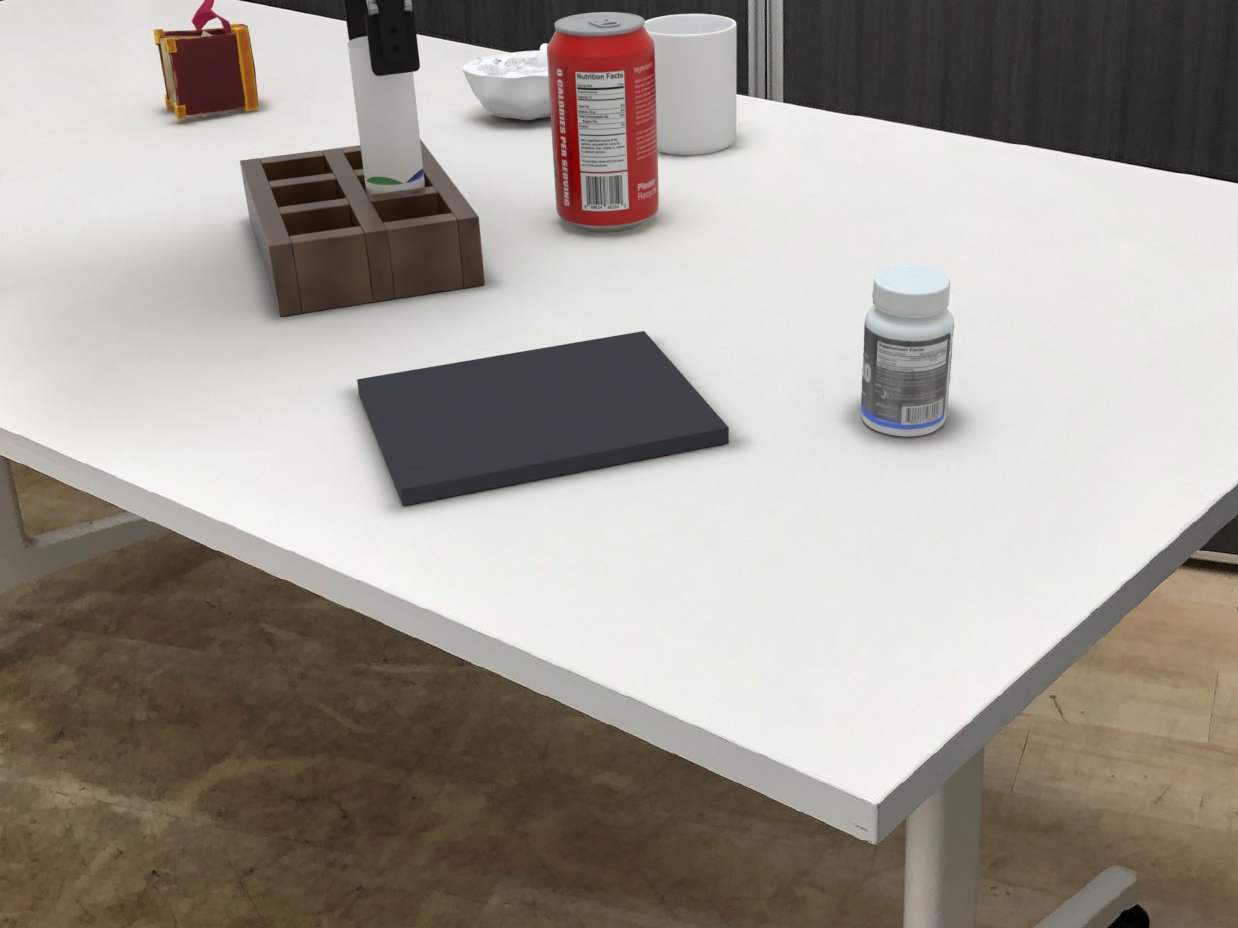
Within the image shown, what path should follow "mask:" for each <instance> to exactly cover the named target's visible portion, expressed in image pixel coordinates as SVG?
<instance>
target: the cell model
mask: <svg viewBox="0 0 1238 928" xmlns="http://www.w3.org/2000/svg"><path fill="white" fill-rule="evenodd" d="M548 44H549V43H546V42H544V43H542V44H540V47H539V50H525V51H515V52H508V53H501V54H494V55H487V56H482V57H476V58H475V59H472V60H471V61H469V62H467V63H465V64H463V65H462V66H461V70H462V72H463V75H464V76H465V79H466V81H467V83H468V85H469V87H470V89H471V91H472V93H473V94H474V96H475V97H476V99H477V100H478V101H479V103H480V105H481V106H482V107H483V108H484V109H485V110H486V112H488V113H489V114H491V115H492V116H496V117H499V118H504V119H515V120H521V121H533V120H536V119H542V118H544V119H547V118H551V113H550V97H549V81H548V65H547V45H548Z"/></svg>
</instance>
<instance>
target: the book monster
mask: <svg viewBox="0 0 1238 928" xmlns="http://www.w3.org/2000/svg"><path fill="white" fill-rule="evenodd" d="M214 4H215V0H204V1H203V2H202V4H201V5H200V6H199V7H198V9H197V10H196V11H195V13H194V15H193V17H192V19H191V21H190V22H191V23H192V25H193V26H194V28H195V29H193V30H191V29H190V30H164V29H163V28H157V29H153V35H154V44H155V46H157V48H158V54H159V59H160V64H161V70H162V76H163V81H164V88H165V94H164V102H165V106H166V110H167V112H170V111H174V113H175V117H176V119H177V120H186V119H187V118H188V117H189V116H197V115H201V116H202V118H203V119H204V118H205V117H207V116H209V115H210V114H213V113H222V112H228V111H232V110H240V109H242V110H244V111H246V112H250V111H255V110H259V96H258V84H257V74H256V65H255V59H254V53H253V48H252V41H251V36H250V30H249V25H247V24H244V23H230V21H229V20H227V19H225V18H224V17H222V16H220V15H219V14H217V13H216V12H215V11H213V10H212V9H213V8H214ZM216 18H217V19H218V20H219V21H220V23H221V25H222V27H215V28H204V27H205V26H206V24H207V23H208V22H209V21H212V20H214V19H216ZM203 28H204V29H203Z"/></svg>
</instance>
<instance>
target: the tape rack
mask: <svg viewBox="0 0 1238 928" xmlns="http://www.w3.org/2000/svg"><path fill="white" fill-rule="evenodd" d="M420 144H421V153H422V163H423V170H422V171H423V173H424V182H425V187H424V188H417V189H409V190H402V191H395V192H387V193H380V194H373V195H368V196H367V194H366V186H365V178H364V170H363V162H362V154H361V146H360V144H357V145H351V146H343V147H342V146H341V147H335V148H327V149H320V150H319V149H318V150H313V151H305V152H296V153H290V154H289V153H288V154H282V155H281V154H279V155H272V156H265V157H260V158H259V157H257V158H249V159H248V158H247V159H241V160H239V164H240V170H241V176H242V182H243V189H244V193H245V194H244V195H245V200H246V205H247V206H246V207H247V211H248V218H249V223H250V226H251V229H252V232H253V236H254V239H255V241H256V246H257V248H258V251H259V254H260V257H261V261H262V264H263V267H264V271H265V273H266V276H267V281H268V283H269V286H270V289H271V292H272V296H273V299H274V302H275V306H276V308H277V311H278V315H279V317H286V316H294V315H299V314H306V313H312V312H317V311H325V310H331V309H339V308H344V307H351V306H356V305H364V304H369V303H373V302H374V303H377V302H382V301H390V300H395V299H403V298H408V297H416V296H421V295H428V294H429V295H430V294H436V293H441V292H448V291H455V290H460V289H467V288H474V287H479V286H484V285H486V283H485V270H484V262H483V260H484V259H483V247H482V237H481V226H480V217H479V215H478V214H477V213H476V211H475V210H474V208H473V207H472V206H471V205H470V203H469V202H468V200H467V198H465V196H464V195H463V194H462V192H461V191H460V190H459V188H458V187H457V186H456V184H455V183H454V181H452V179H451V178H450V176H449V175H448V174H447V172H446V171H445V169H444V168H443V167H442V166H441V164H440V163H439V162H438V160H437V159H436V158H435V156H434V155H433V153H432V152H431V151H430V149H429V148H428V147H427V146H426V144H425V143H424V142H423V140H422V139H421V138H420Z"/></svg>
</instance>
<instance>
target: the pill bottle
mask: <svg viewBox="0 0 1238 928" xmlns="http://www.w3.org/2000/svg"><path fill="white" fill-rule="evenodd" d="M950 291H951V280H950V278H949V276H948V275H947V274H946V273H945V272H942V271H941V270H939V269H936V268H933V267H929V266H923V265H917V264H902V265H892V266H889V267H886V268H883V269H882V270H879V271H877V273H876V274H875V275H874V277H873V287H872V294H871V298H872V305H873V306H871V307H870V308H869V309H868V310H867V312H866V315H865V319H864V326H863V354H862V369H861V371H862V373H861V393H860V394H861V395H860V396H861V397H860V417H861V419H862V421H863V422H864V424H865V425H867V426H868V427H869V428H870V429H872V430H874V431H876V432H879V433H881V434H886V435H891V436H897V437H907V438H908V437H909V438H910V437H911V438H912V437H921V436H925V435H928V434H931V433H934V432H936V431H937V430H938V429H940V428H941V427H942V426H943V425H944V423H945V422H946V418H947V414H948V403H949V394H950V393H949V392H950V383H951V370H952V357H953V339H954V330H955V320H954V316H953V314H952V313H951V311H950V309H948V307H949V303H950V302H949V301H950V294H951V293H950Z"/></svg>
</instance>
